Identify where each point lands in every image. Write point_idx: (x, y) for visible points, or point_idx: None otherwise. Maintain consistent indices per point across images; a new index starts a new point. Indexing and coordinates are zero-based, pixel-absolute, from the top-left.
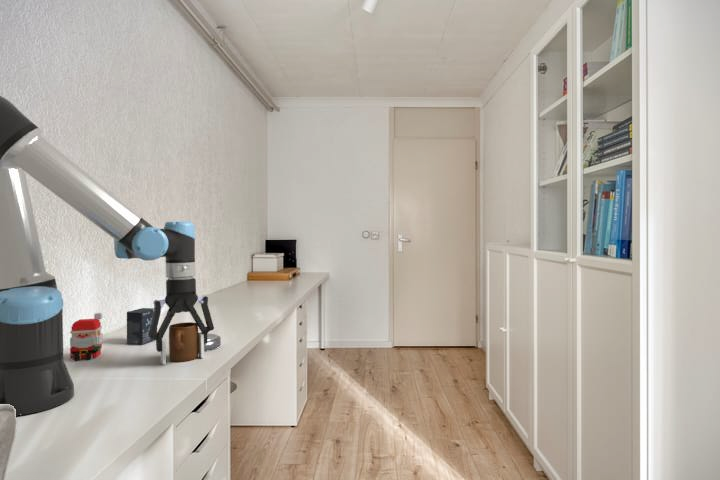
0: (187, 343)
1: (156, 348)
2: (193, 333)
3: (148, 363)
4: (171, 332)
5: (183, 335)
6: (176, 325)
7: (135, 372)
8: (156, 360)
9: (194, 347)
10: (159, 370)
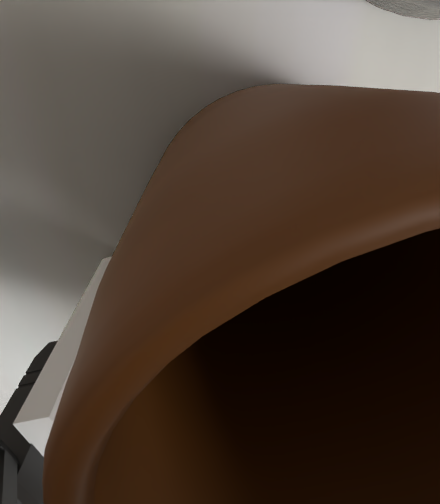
0: (315, 388)
1: (34, 367)
2: (436, 460)
3: (11, 229)
4: (149, 494)
5: (303, 489)
6: (240, 258)
7: (3, 377)
8: (48, 165)
9: (362, 322)
10: None
